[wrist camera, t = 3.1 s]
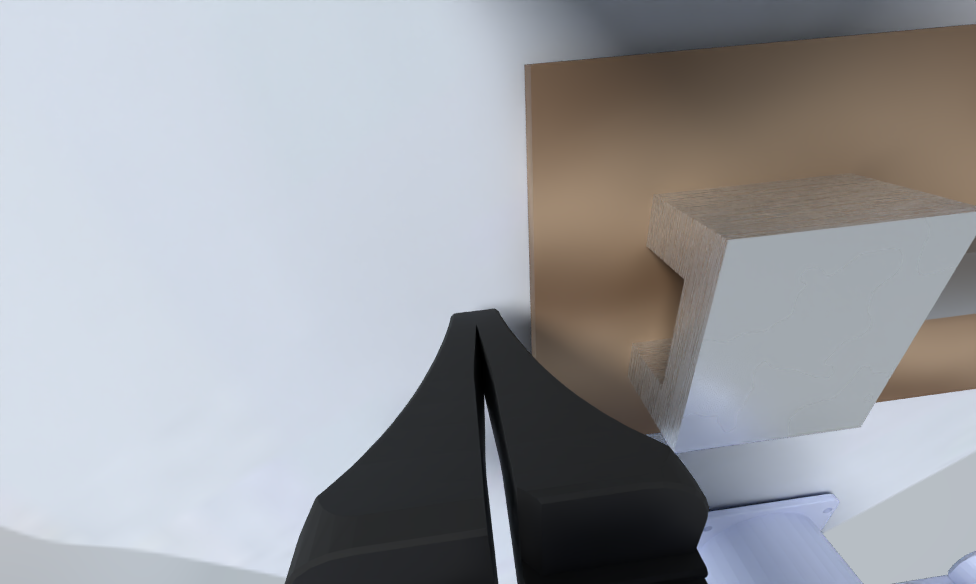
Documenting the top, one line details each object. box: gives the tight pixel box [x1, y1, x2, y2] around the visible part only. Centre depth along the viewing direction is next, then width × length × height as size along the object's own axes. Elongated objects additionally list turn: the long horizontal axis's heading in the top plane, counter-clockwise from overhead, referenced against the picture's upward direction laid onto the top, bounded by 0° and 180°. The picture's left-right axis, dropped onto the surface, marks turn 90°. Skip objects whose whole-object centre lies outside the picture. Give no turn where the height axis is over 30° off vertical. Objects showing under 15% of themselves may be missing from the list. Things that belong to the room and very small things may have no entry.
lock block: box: [628, 173, 976, 453], centre depth 12 cm, size 7×6×3 cm
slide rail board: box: [525, 24, 976, 435], centre depth 12 cm, size 14×22×5 cm, turn 94°
